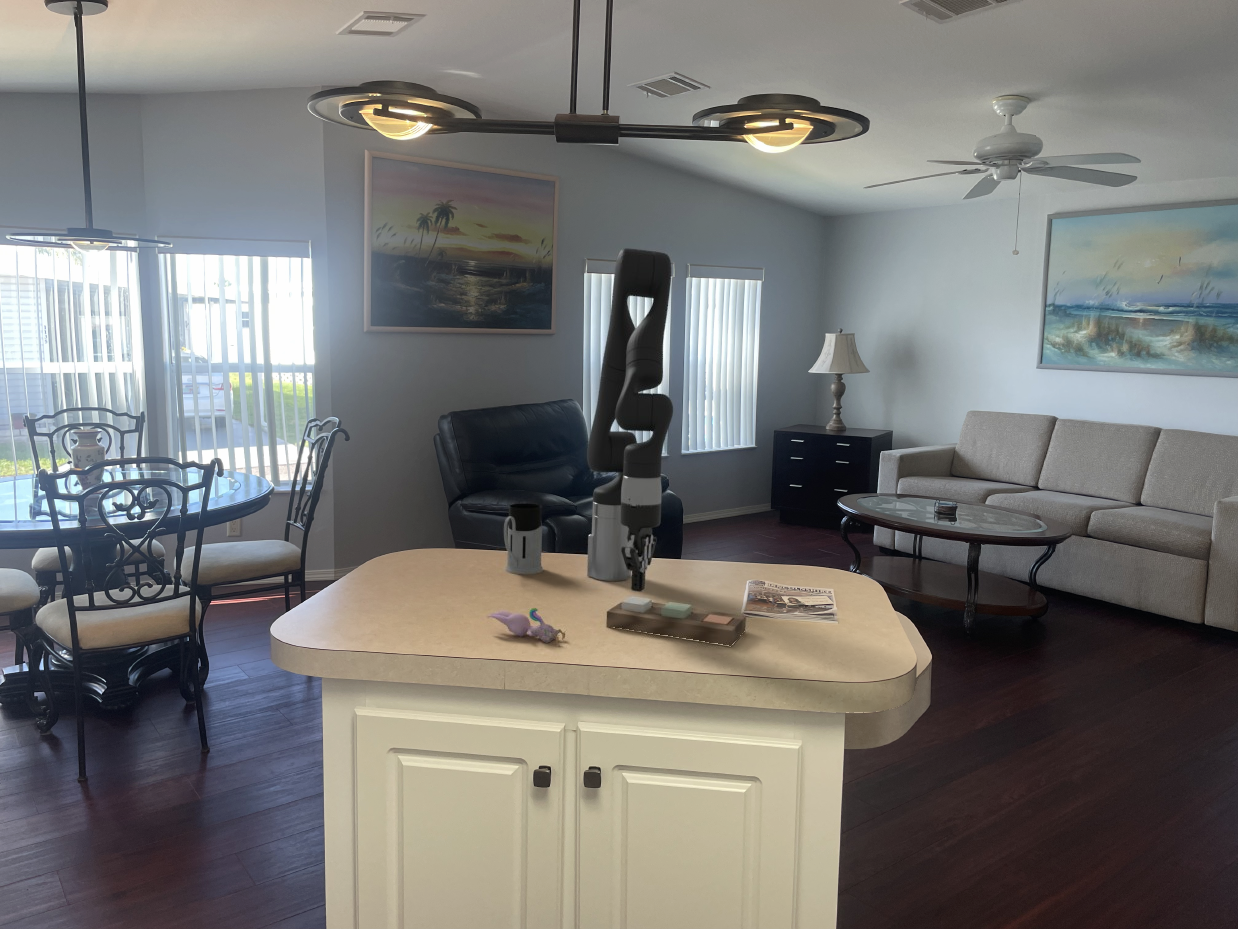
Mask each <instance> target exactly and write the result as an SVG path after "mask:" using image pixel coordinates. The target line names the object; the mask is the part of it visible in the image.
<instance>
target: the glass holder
mask: <svg viewBox="0 0 1238 929" xmlns="http://www.w3.org/2000/svg"><path fill="white" fill-rule="evenodd" d="M542 506H543V505H541V504H538V503H527V502H526V503H525V502H524V503H523V502H520V503H513V504H509V506H508V516H507V518H505V520H504V523H503V539H504V540H503V541H504V544H505V545H504V546H505V548H506V551H507V553H506V555H507V558H506V559H507V560H506V561H507V562H506V566H505V569H504V570H505V572H507V573H510V574H514V573H515V575H516V574H517V575H534V574H535V575H536V574H539V573H541V572H543V570H544V568H543V566H542V543H543V542H542V540H543V539H542V538H543V537H542V536H543V525H542V524H543V523H542V509H543V507H542Z"/></svg>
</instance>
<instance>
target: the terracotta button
mask: <svg viewBox="0 0 1238 929" xmlns="http://www.w3.org/2000/svg"><path fill="white" fill-rule="evenodd" d="M732 621H733V618H732V617H725V616H718V615H711V614H710V615H708V616H707V617H706V618H705V619H704V620H703V622H707V623H713V624H720V625H728V624H730V623H731V622H732Z"/></svg>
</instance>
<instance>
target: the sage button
mask: <svg viewBox="0 0 1238 929" xmlns="http://www.w3.org/2000/svg"><path fill="white" fill-rule="evenodd" d="M665 604H666V605H665V606H663V607H662V613H661V616H667V617H674V618H681V619H686V618H687V617H688V616H689V615H691V610H692V608H693V607H692V604H686V603H679V602H673V601H669V602H668V603H665Z"/></svg>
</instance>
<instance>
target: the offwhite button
mask: <svg viewBox="0 0 1238 929" xmlns="http://www.w3.org/2000/svg"><path fill="white" fill-rule="evenodd" d="M652 600H653V599H651V598H645V597H637V596H634V595H633V596H632V595H631V596H628V597H627V598H625V599H624V600H622V601H621V602H622V610H628V611H635V612H641V613H645V612H646V611H648V610H649V609H650V608H651V606H652V602H653V601H652Z"/></svg>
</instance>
